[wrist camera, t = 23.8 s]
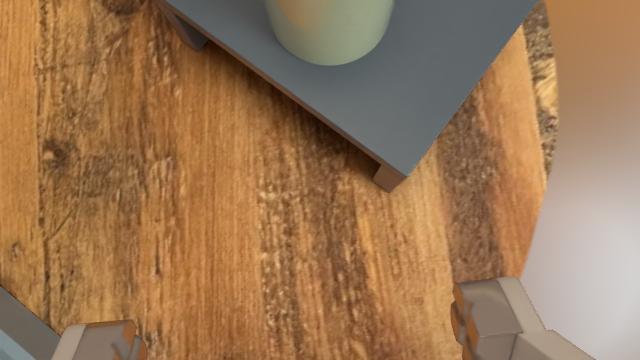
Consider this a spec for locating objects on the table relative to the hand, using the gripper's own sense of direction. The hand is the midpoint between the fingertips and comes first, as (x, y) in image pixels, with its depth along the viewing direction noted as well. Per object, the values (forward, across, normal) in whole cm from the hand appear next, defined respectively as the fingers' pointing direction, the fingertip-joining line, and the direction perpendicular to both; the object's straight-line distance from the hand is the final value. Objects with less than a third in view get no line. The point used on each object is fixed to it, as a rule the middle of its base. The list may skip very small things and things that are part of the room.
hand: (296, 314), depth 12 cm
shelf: (+25, -4, +2) cm, 25 cm away
